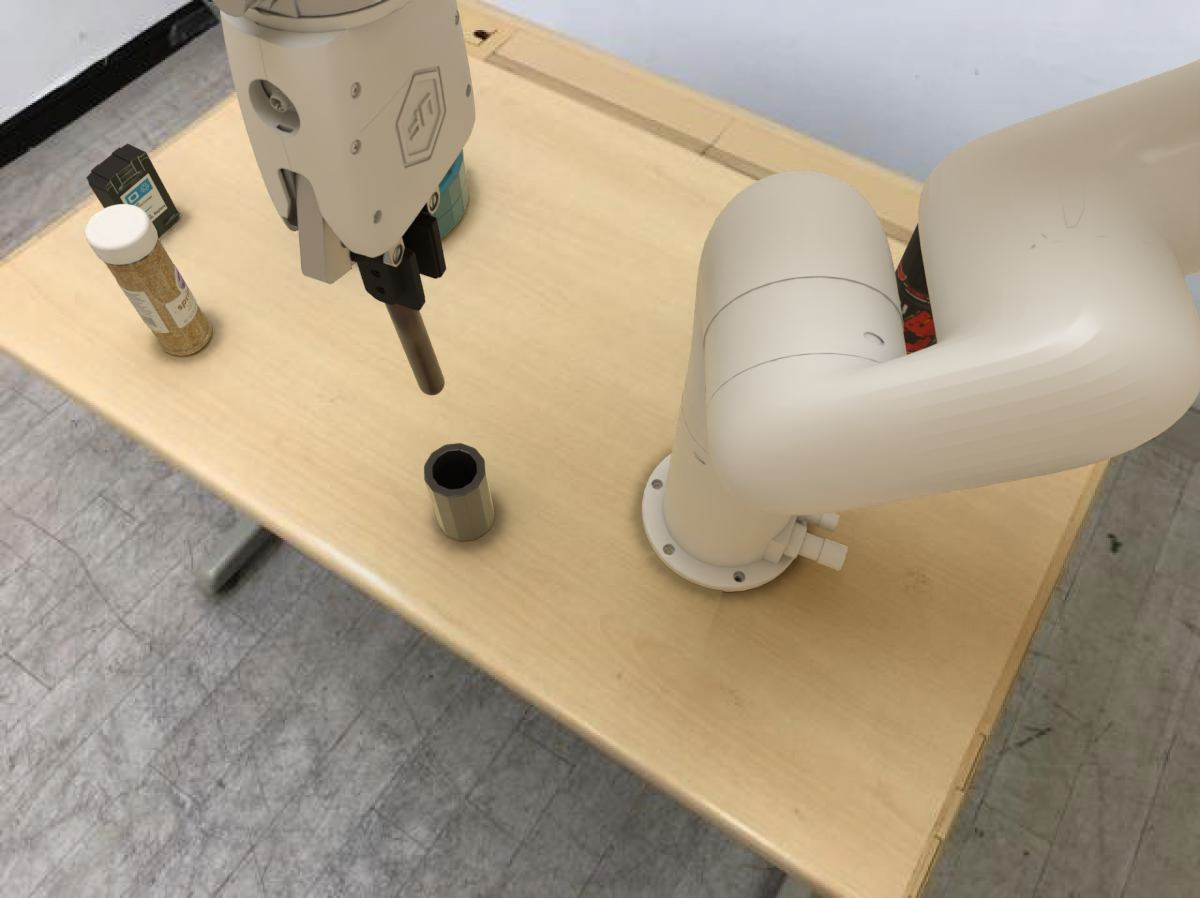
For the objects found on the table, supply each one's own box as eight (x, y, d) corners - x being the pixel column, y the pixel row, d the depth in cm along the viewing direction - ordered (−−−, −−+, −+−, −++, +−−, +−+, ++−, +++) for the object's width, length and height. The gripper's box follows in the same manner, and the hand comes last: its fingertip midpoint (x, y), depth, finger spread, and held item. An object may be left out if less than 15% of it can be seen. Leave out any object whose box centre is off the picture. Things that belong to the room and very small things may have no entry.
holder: (503, 506, 68) (495, 455, 62) (479, 552, 67) (467, 505, 60) (455, 487, 69) (441, 435, 62) (430, 532, 67) (412, 483, 60)
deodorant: (947, 342, 77) (1022, 218, 64) (910, 383, 75) (979, 263, 62) (891, 305, 79) (952, 178, 66) (852, 344, 77) (908, 219, 64)
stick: (451, 383, 55) (382, 188, 42) (440, 403, 54) (365, 211, 41) (429, 376, 55) (353, 181, 42) (417, 396, 55) (336, 204, 41)
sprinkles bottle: (221, 342, 76) (156, 231, 64) (169, 366, 74) (93, 256, 63) (201, 307, 78) (135, 192, 66) (150, 329, 76) (73, 216, 65)
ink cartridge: (144, 252, 81) (103, 186, 74) (125, 242, 81) (83, 175, 74) (182, 217, 83) (146, 150, 76) (163, 208, 83) (126, 140, 76)
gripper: (289, 96, 26) (400, 425, 42) (512, -161, 33) (534, 202, 49) (75, 31, 27) (262, 375, 43) (336, -203, 34) (413, 165, 50)
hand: (406, 281), depth 46 cm, fingers closed on stick, 1 cm apart
